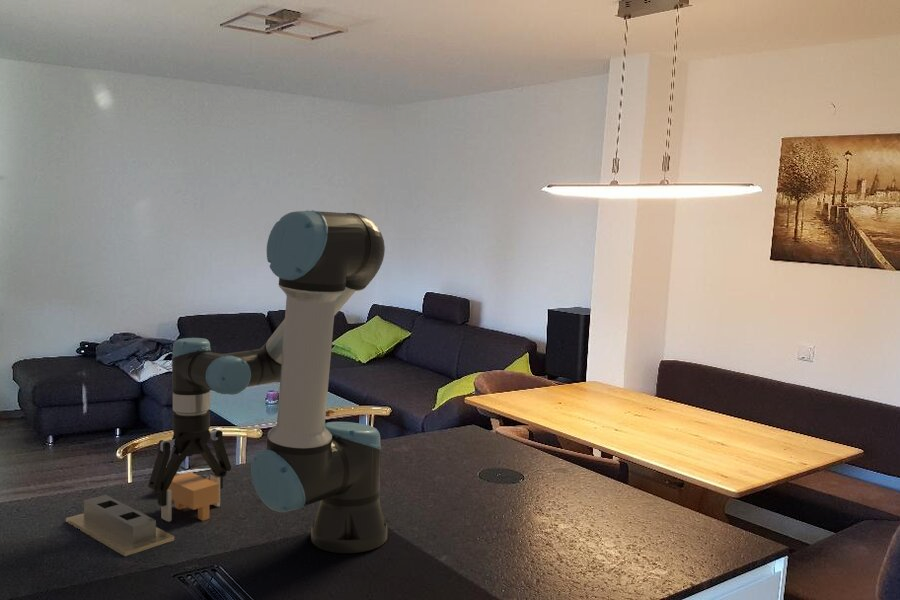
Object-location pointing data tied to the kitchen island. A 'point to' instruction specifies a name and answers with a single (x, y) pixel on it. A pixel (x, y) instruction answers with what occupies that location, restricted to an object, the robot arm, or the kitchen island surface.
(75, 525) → the beige grey stepped block
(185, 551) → the kitchen island surface
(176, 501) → the orange toy brick
